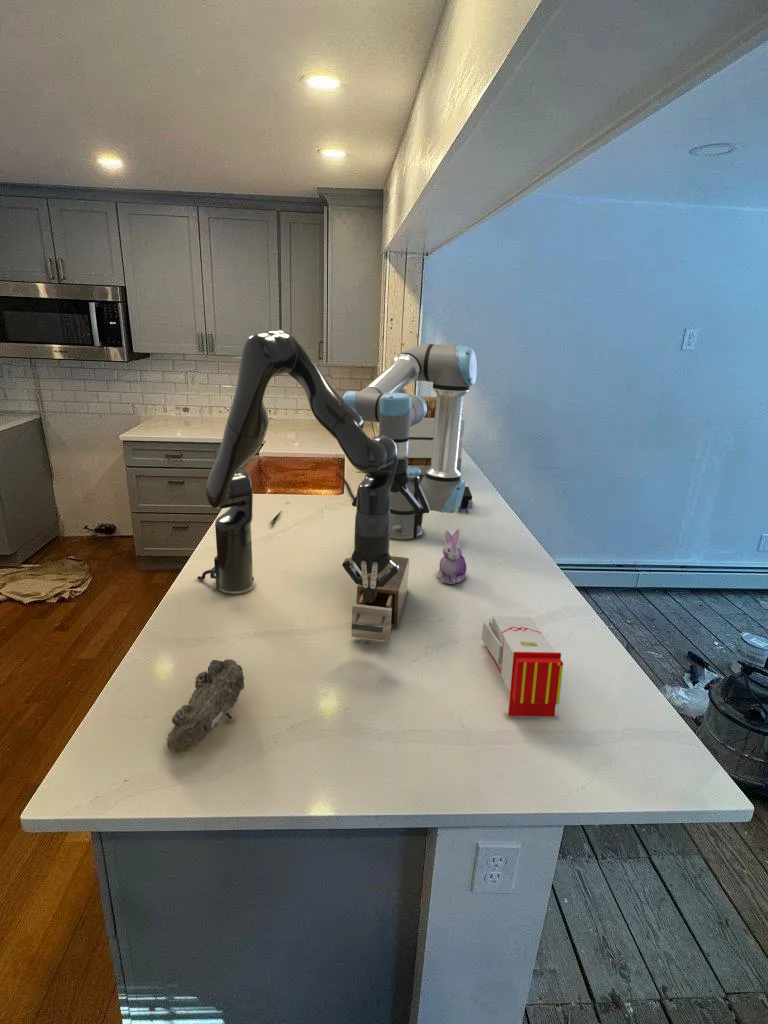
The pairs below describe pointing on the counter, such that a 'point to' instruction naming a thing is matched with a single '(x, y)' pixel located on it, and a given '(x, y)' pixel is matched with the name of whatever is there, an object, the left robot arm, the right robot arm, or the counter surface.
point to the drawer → (373, 617)
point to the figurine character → (466, 500)
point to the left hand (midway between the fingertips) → (369, 601)
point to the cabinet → (393, 586)
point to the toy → (525, 665)
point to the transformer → (427, 437)
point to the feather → (274, 519)
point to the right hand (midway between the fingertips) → (389, 534)
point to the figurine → (452, 560)
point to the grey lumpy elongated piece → (206, 705)
